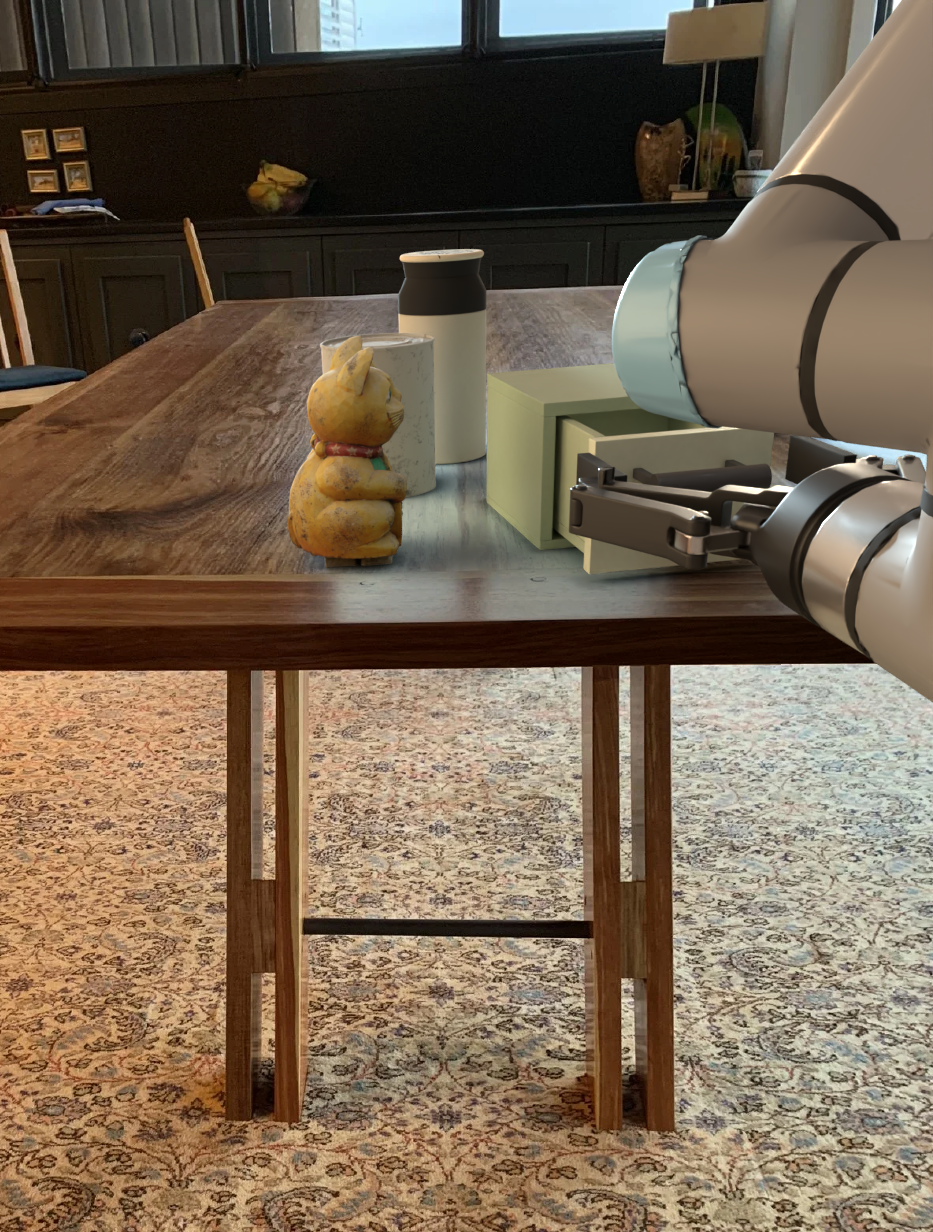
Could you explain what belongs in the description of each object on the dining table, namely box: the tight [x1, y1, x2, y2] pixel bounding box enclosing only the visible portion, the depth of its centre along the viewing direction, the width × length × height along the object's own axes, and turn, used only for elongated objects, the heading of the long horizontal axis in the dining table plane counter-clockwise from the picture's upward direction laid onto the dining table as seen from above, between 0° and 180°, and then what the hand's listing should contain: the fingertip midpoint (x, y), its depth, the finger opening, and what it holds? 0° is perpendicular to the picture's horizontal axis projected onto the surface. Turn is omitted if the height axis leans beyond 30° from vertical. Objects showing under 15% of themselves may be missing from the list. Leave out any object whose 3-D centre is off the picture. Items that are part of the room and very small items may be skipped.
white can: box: [319, 332, 437, 498], centre depth 102 cm, size 10×10×12 cm
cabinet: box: [486, 362, 642, 551], centre depth 90 cm, size 15×13×10 cm
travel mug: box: [397, 248, 487, 465], centre depth 111 cm, size 8×8×18 cm
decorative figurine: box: [286, 335, 407, 568], centre depth 83 cm, size 10×8×15 cm
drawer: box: [552, 409, 775, 575], centre depth 80 cm, size 18×12×8 cm, turn 8°
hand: (688, 465), depth 74 cm, fingers open, 13 cm apart
